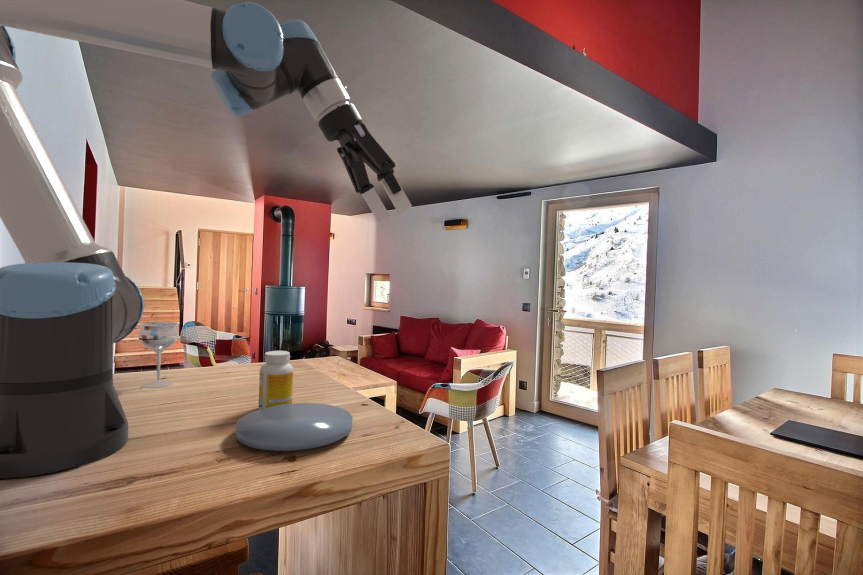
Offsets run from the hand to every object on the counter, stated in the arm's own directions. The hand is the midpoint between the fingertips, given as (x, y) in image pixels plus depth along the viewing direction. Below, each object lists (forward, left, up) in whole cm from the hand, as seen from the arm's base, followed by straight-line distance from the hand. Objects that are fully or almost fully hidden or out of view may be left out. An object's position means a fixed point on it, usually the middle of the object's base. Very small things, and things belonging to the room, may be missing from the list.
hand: (394, 215), depth 83 cm
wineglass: (-28, +36, -35) cm, 58 cm away
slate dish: (-24, -5, -35) cm, 43 cm away
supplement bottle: (-20, +7, -35) cm, 41 cm away
